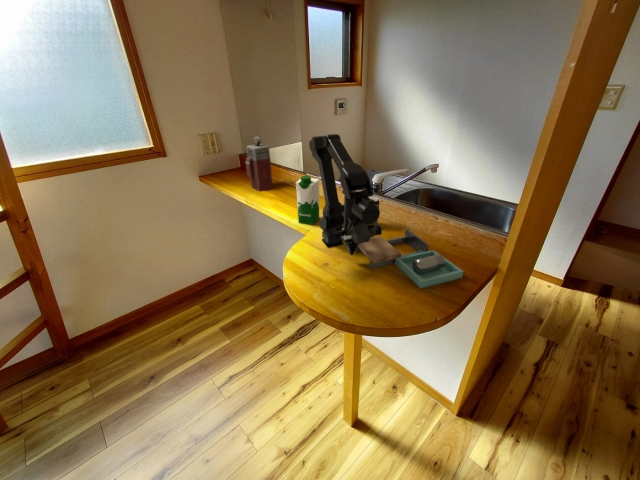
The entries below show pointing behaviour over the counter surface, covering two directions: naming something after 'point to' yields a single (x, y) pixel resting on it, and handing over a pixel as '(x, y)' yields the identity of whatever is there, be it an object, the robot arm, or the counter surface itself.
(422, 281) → the tray
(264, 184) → the maroon lidded pitcher
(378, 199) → the beverage can
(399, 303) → the counter surface
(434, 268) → the roller
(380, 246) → the board
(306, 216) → the milk carton
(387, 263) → the track
